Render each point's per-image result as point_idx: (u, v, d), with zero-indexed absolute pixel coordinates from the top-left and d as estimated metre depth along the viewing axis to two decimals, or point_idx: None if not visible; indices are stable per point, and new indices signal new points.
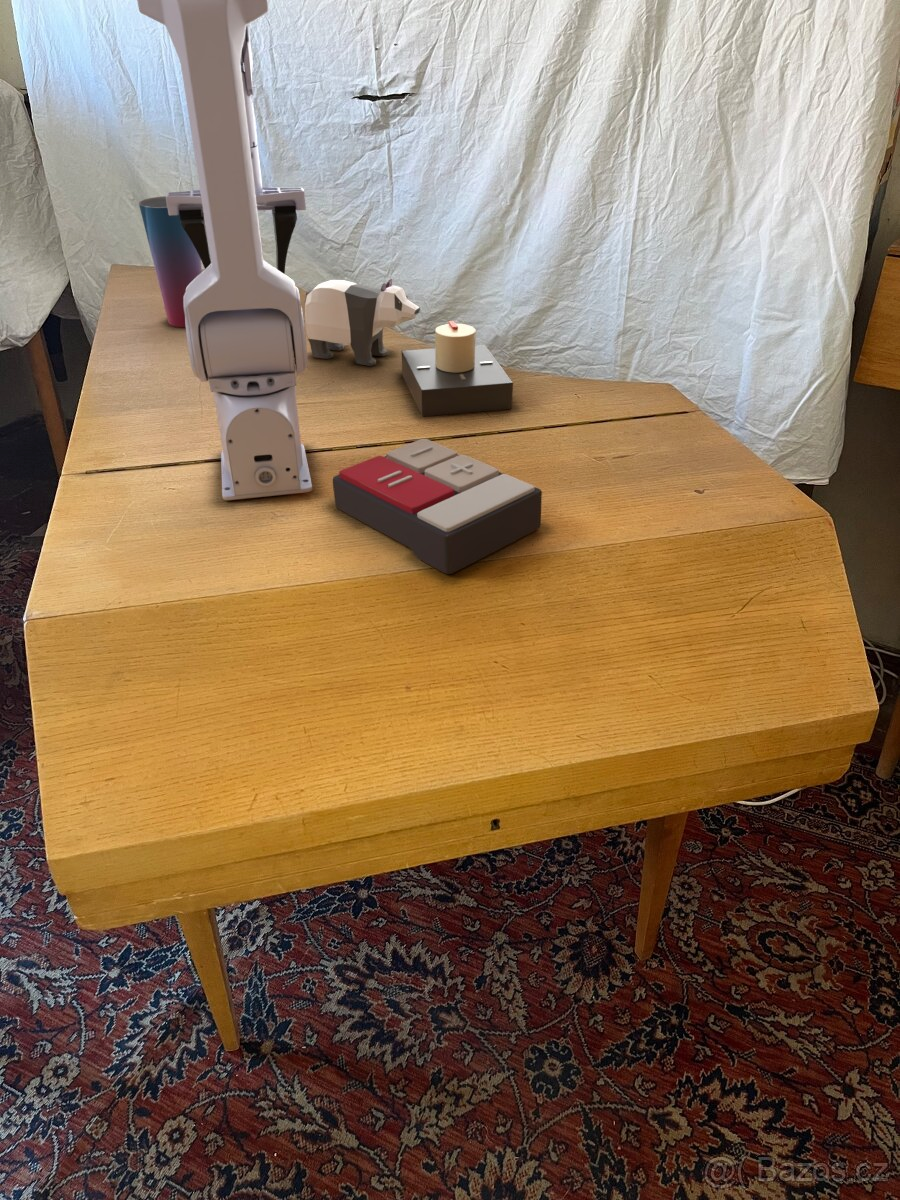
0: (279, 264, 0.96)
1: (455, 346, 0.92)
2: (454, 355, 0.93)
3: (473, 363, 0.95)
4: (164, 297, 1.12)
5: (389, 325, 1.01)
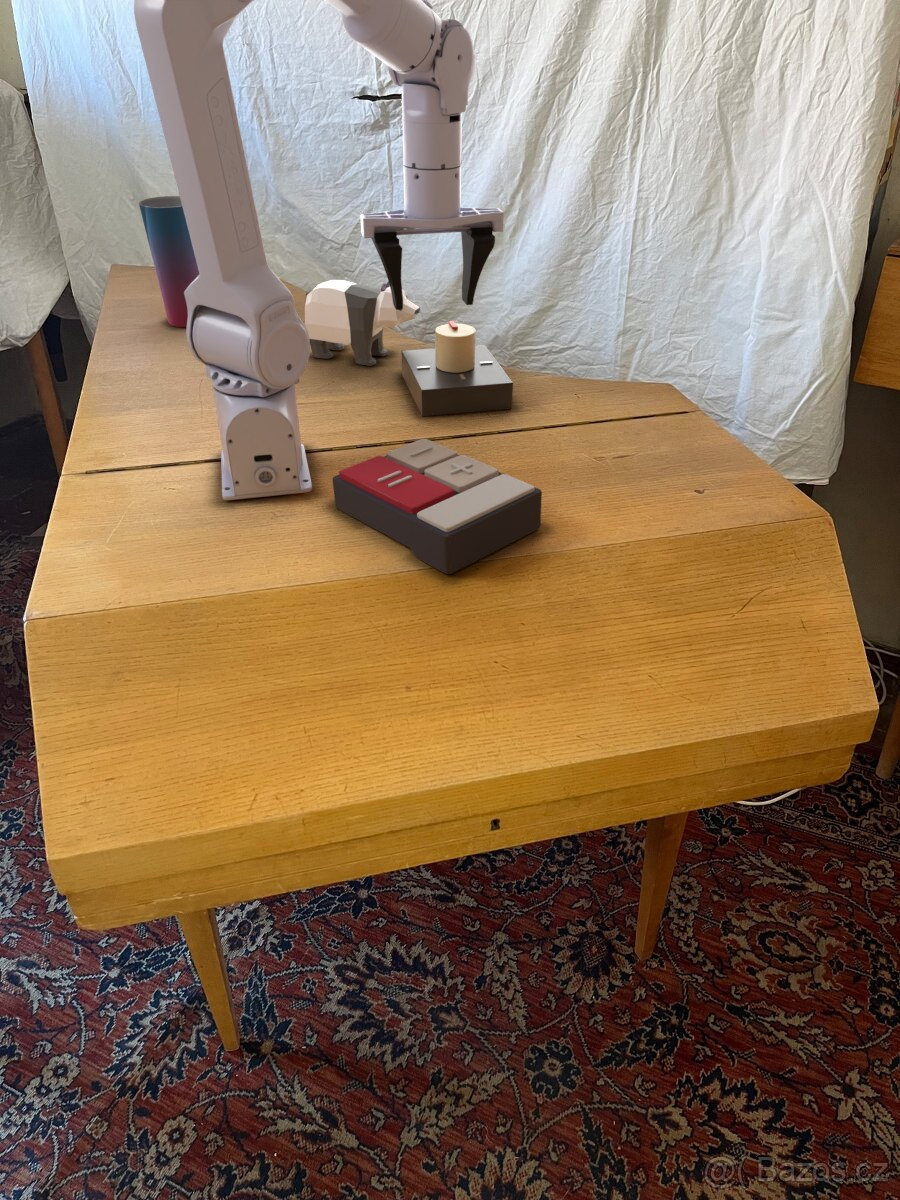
0: (470, 288, 0.91)
1: (455, 346, 0.92)
2: (454, 355, 0.93)
3: (473, 363, 0.95)
4: (164, 297, 1.12)
5: (389, 325, 1.01)
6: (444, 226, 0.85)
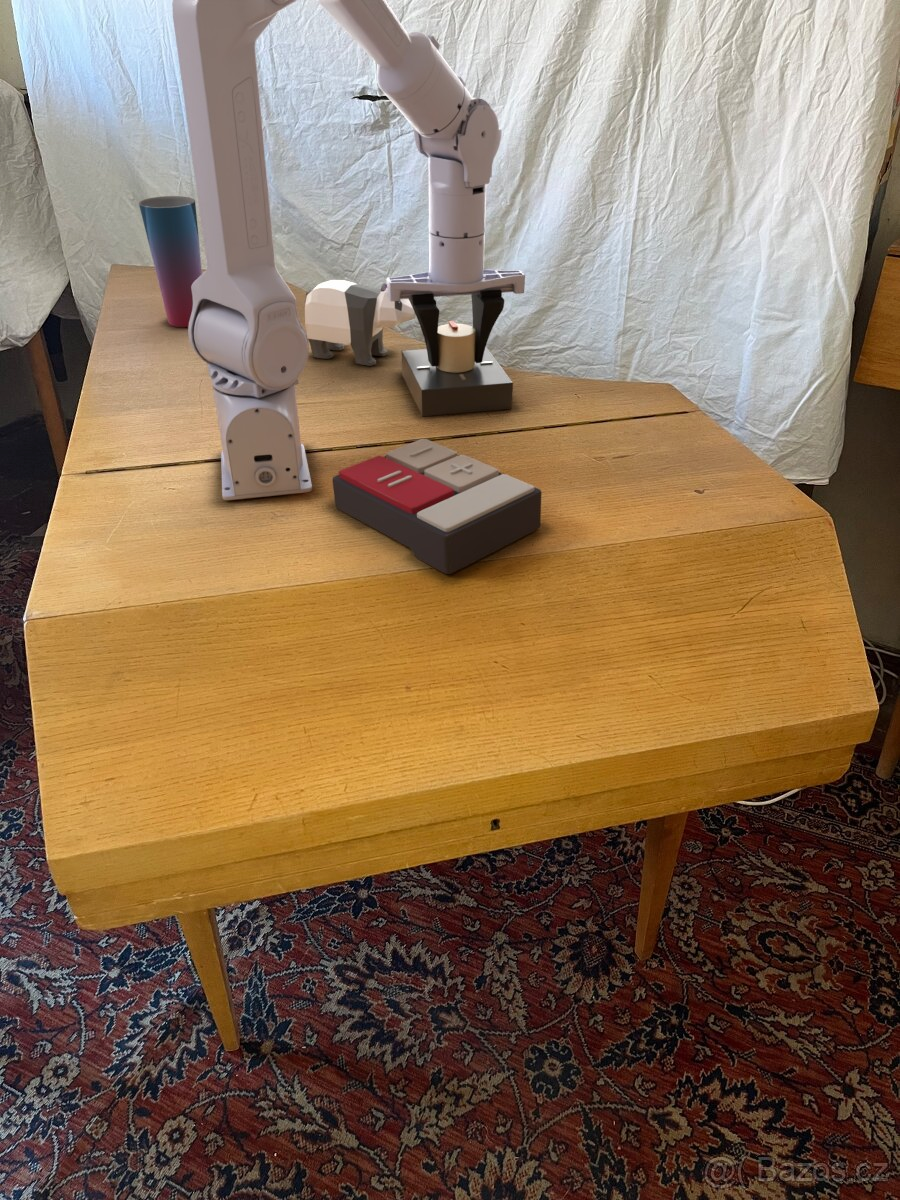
0: (479, 348, 0.94)
1: (455, 346, 0.92)
2: (454, 355, 0.93)
3: (473, 363, 0.95)
4: (164, 297, 1.12)
5: (389, 325, 1.01)
6: (468, 290, 0.88)
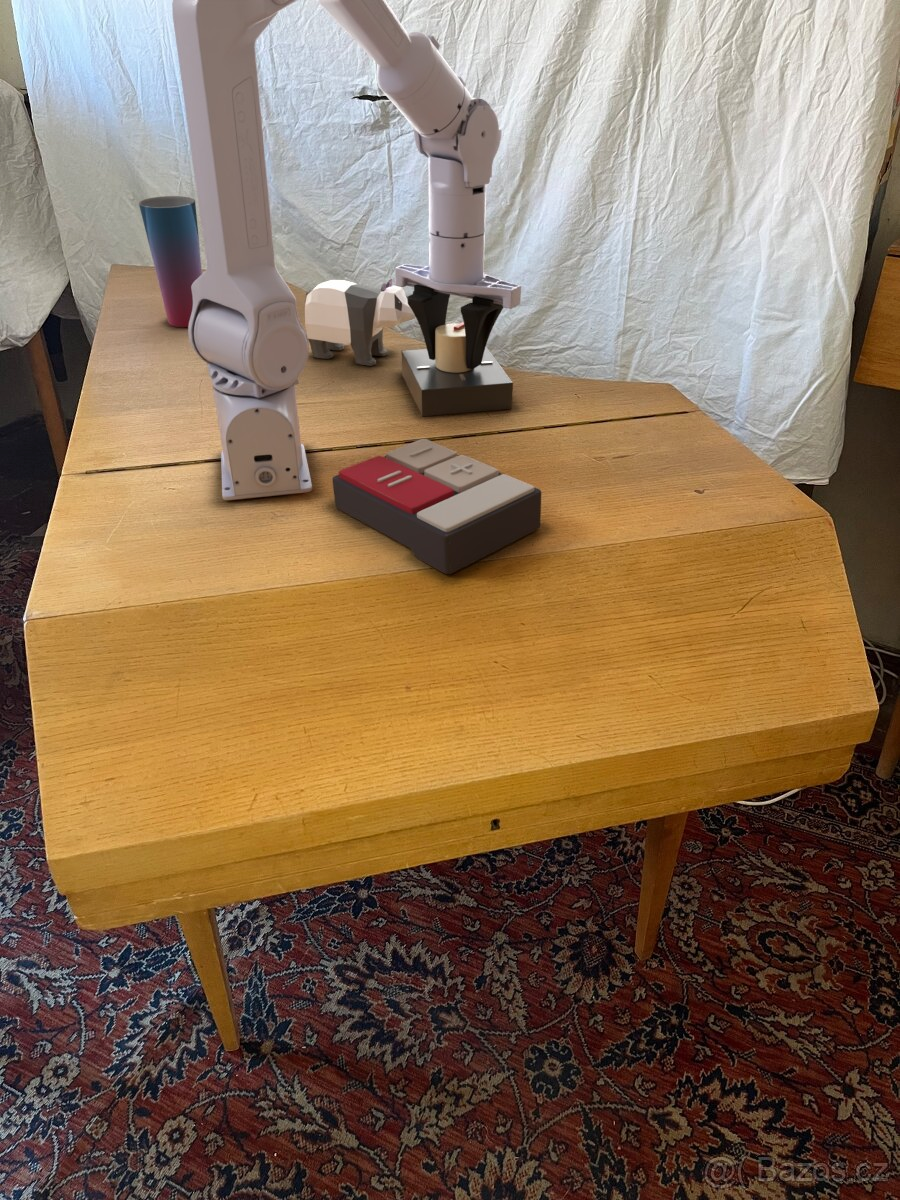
0: (467, 353, 0.92)
1: (441, 344, 0.93)
2: (440, 353, 0.93)
3: (463, 367, 0.94)
4: (164, 297, 1.12)
5: (389, 325, 1.01)
6: (445, 290, 0.88)
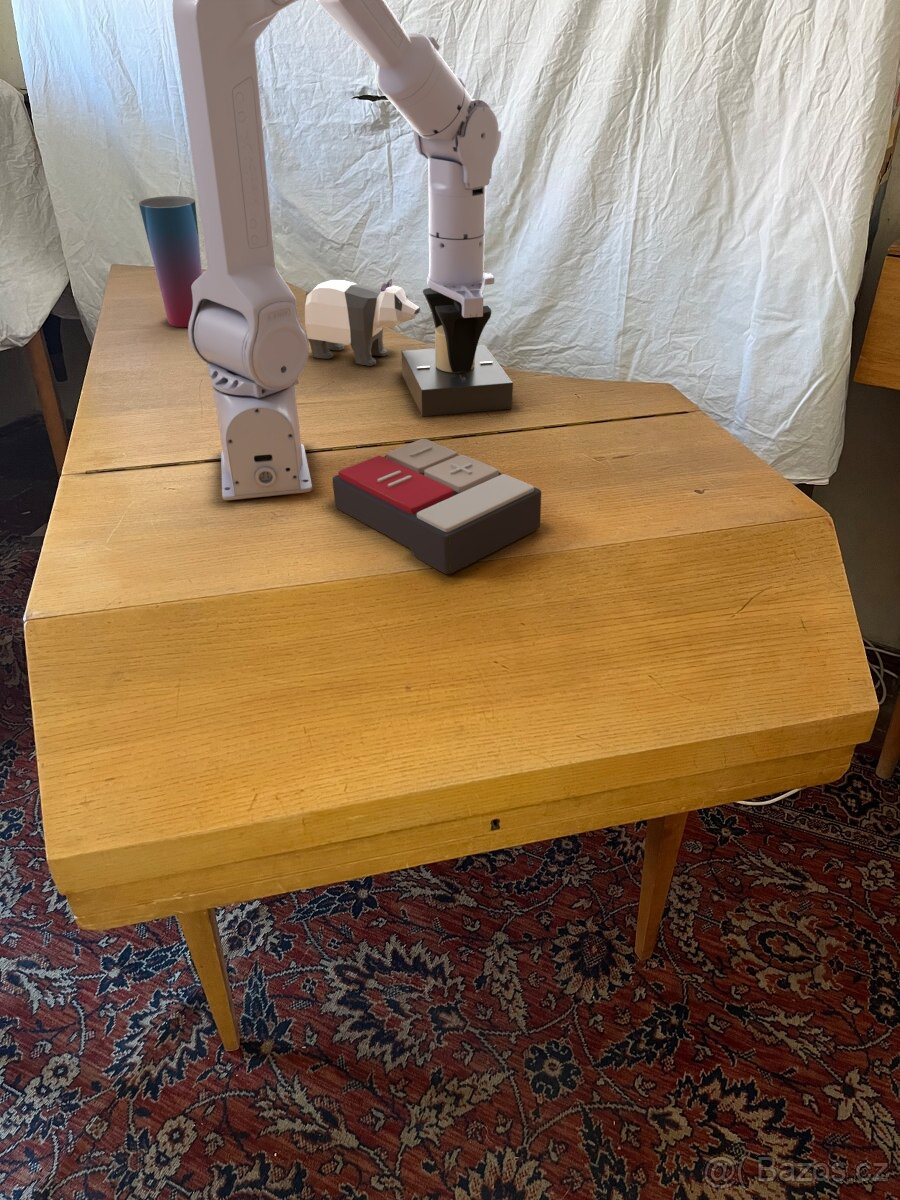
0: (448, 354, 0.92)
1: (435, 339, 0.94)
2: (435, 348, 0.94)
3: (447, 367, 0.94)
4: (164, 297, 1.12)
5: (389, 325, 1.01)
6: (430, 287, 0.89)
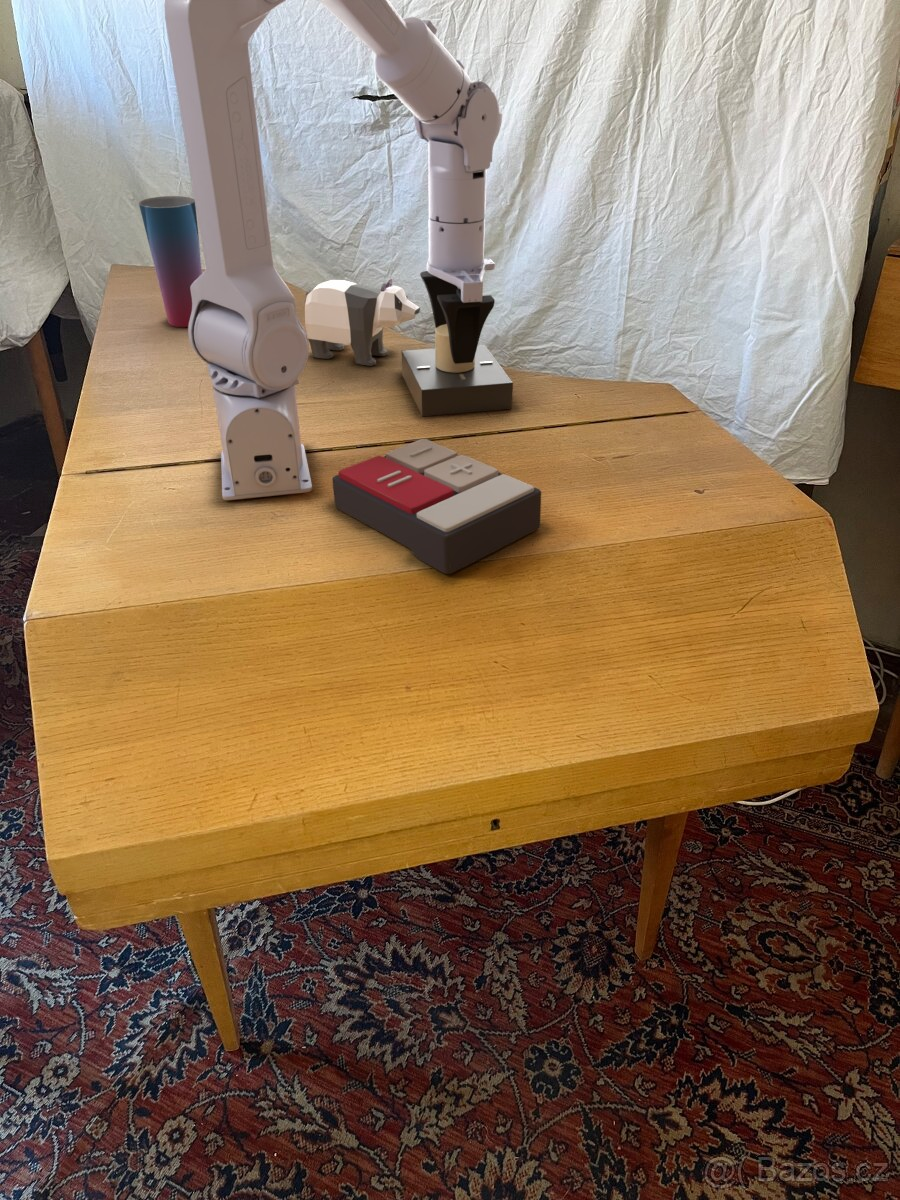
0: (450, 345, 0.90)
1: (435, 339, 0.94)
2: (435, 348, 0.94)
3: (447, 367, 0.94)
4: (164, 297, 1.12)
5: (389, 325, 1.01)
6: (429, 272, 0.88)
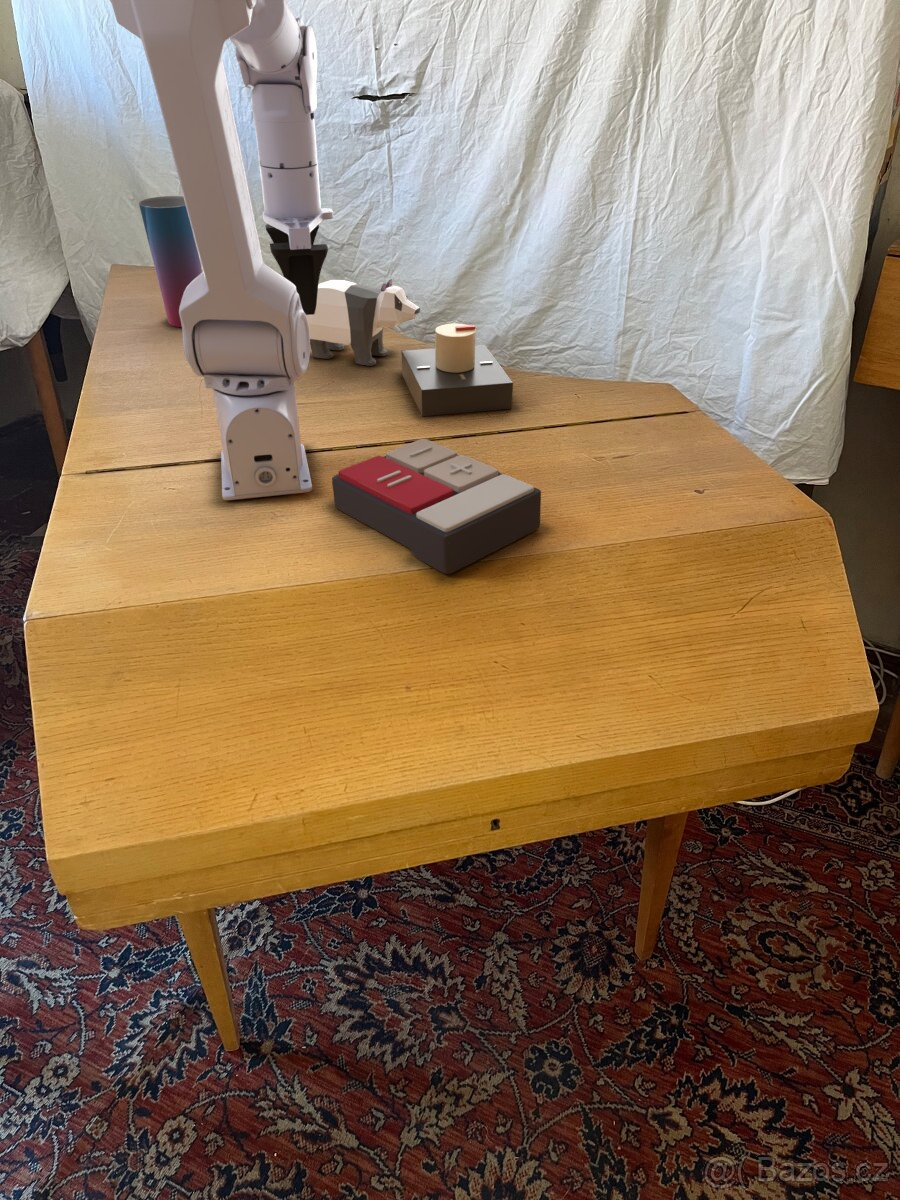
0: None
1: (435, 339, 0.94)
2: (435, 348, 0.94)
3: (447, 367, 0.94)
4: (164, 297, 1.12)
5: (389, 325, 1.01)
6: (264, 221, 0.87)
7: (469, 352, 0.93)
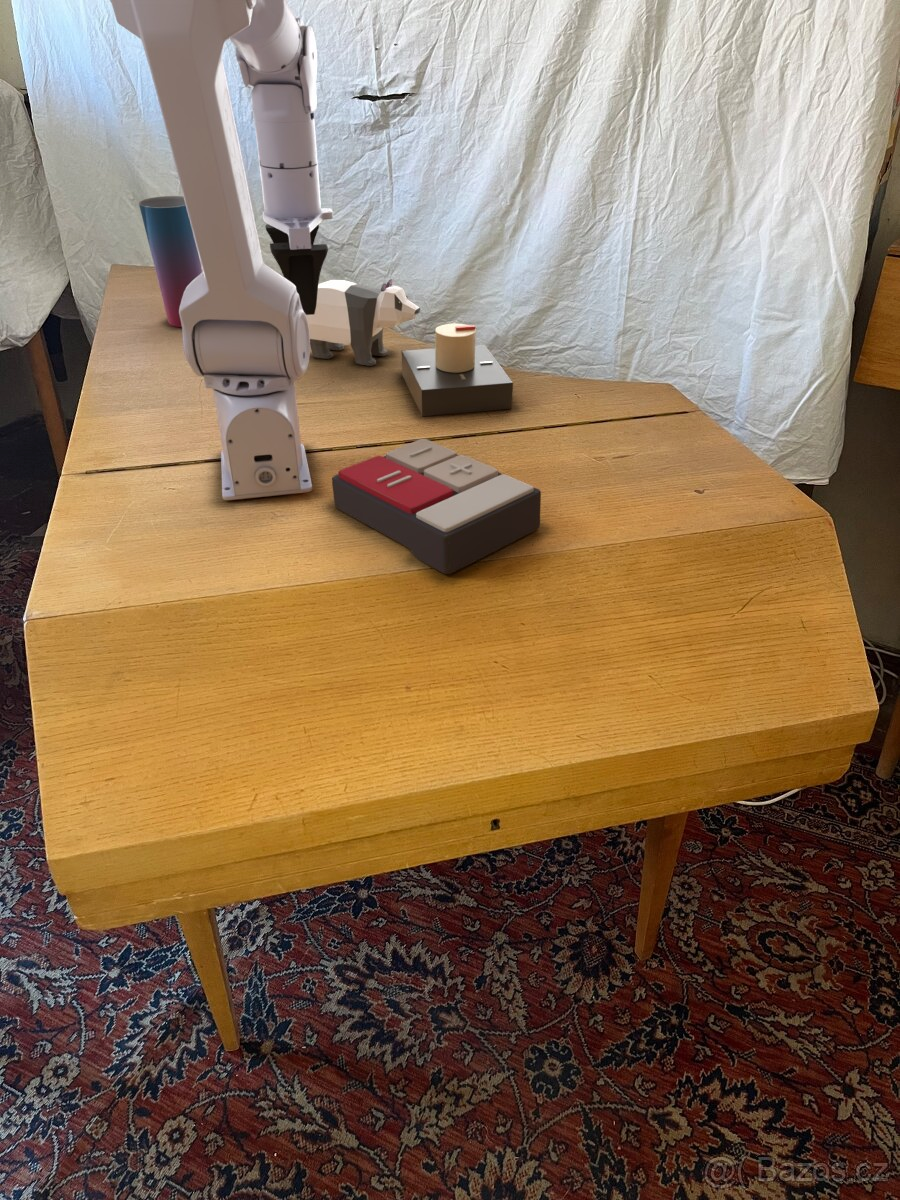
0: None
1: (435, 339, 0.94)
2: (435, 348, 0.94)
3: (447, 367, 0.94)
4: (164, 297, 1.12)
5: (389, 325, 1.01)
6: (264, 221, 0.87)
7: (469, 352, 0.93)
